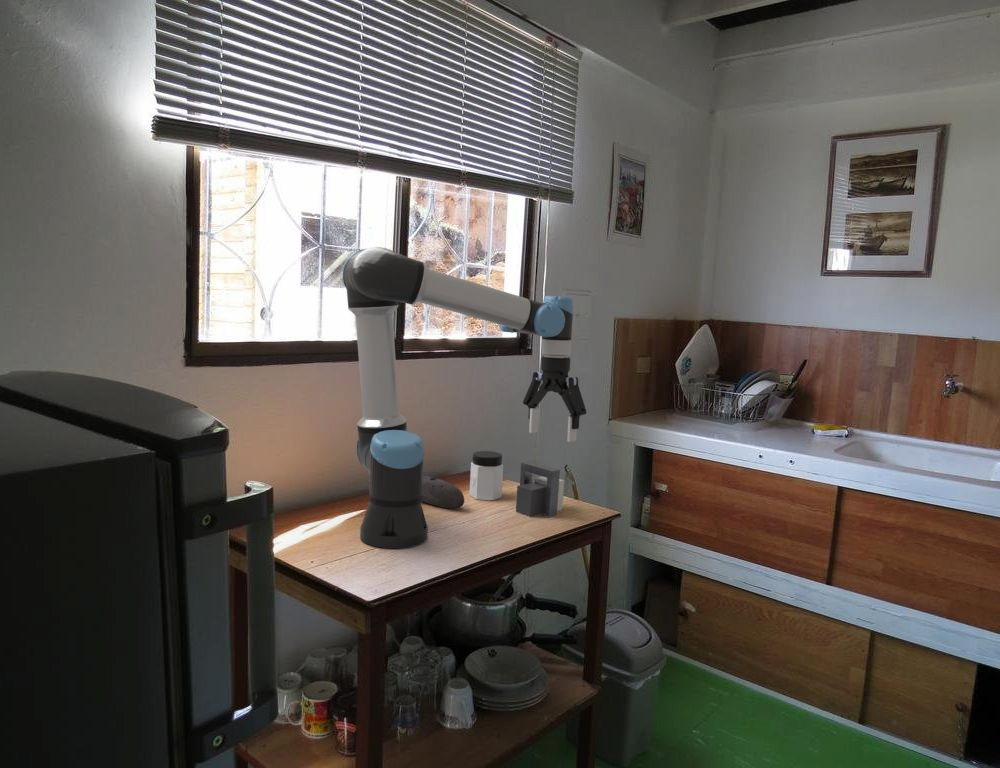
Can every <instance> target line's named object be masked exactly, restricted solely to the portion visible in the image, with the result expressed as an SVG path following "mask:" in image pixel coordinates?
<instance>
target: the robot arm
mask: <svg viewBox="0 0 1000 768" xmlns="http://www.w3.org/2000/svg"><path fill="white" fill-rule="evenodd" d="M342 282H343V285H344V287H345V289H346V298H347V299H346V300H347V307H348V308H347V309H348V310H349V311H350V312H351V313H352V314H353V315H354V317H355V326H356V327H355V329H356V338H357V339H356V341H357V355H358V365H359V366H358V367H359V368H358V369H359V377H360V379H359V380H360V389H361V390H360V392H361V393H360V394H361V405H362V417H361V418H360V419H359V421H357V423H356V425H357V436H358V438H357V442H356V447H355V449H356V450H355V452H356V457H357V459H358V462H359V463H360V465H361V466H362V467H363V469H365V470H366V471H367V473H368V475H369V496H368V498H369V499H368V501H369V502H368V506H367V507H366V510H365V514H364V517H363V520H362V523H361V524H360V528H359V538H360V540H361V541H362V542H363V543H365V544H367V545H368V546H369V545H370V546H373V547H378V548H382V549H383V548H384V549H404V548H411V547H417V546H418V545H421V544H423V543H424V542H426V541H427V539H428V536H429V535H428V533H429V527H428V524H427V520H426V516H425V513H424V509H423V506H422V500H421V497H422V477H423V476H424V475H423V473H424V457H425V449H424V447H425V446H424V440H423V439H422V437H420V436H419V435H418V434H416V433H414V432H409V431H408V426H407V419H406V418H405V417H404V416H403V415H402V414H401V413H400V405H399V389H398V375H397V360H396V347H395V345H396V343H395V331H394V317H393V314H394V312H395V311H396V310H397V309H398V308H399V303H404V304H408V305H411V306H413V305H416V304H417V303H421V304H425V305H429V306H432V307H436V308H439V309H443V310H446V311H450V312H453V313H457V314H461V315H464V316H468V317H471V318H474V319H475V318H476V319H477V320H478V319H479V320H482V321H486V322H490V323H494V324H496V325H498V328H499V329H500V330H501V331H502V332H503V333H511V334H514V333H521V334H527V335H534V336H539V337H542V338H541V354H542V355H543V356H542V357H541V359H540V361H541V363H540V369H541V370H542V371H534V372H533V373H532V379H531V383H530V384H529V386H528V389H527V391H526V394H525V396H524V398H523V400H522V404H523V405H524V406H525V405H526V406H527V407H528V415H527V416H528V420H529V428H528V429H529V430H528V433H529V434H533V433H538V432H539V420H540V407H539V404H540V403H541V402H542V400H543V399H544V398H545V397H546V395H547V393H548V392H552V393H558V395H559V396H560V397H561V399H562V401H563V402H564V404H565V406H566V408H567V410H568V412H569V414H570V415H569V416H568V418H567V439H566V441H567V442H568V443H570V442H576V441H577V438H578V437H577V436H578V434H577V433H578V430H579V428H580V418H581V416H583V415H584V416H585V415H587V409H586V405H585V403H584V400H583V396H582V393H581V390H580V387H579V378H578V377H577V376H571V377H569V372H570V371H571V357H569V356H571V354H572V350H571V349H572V333H573V332H572V331H573V330H572V329H573V317H574V306H573V305H574V303H573V299H572V297H570V296H562V295H561V296H559V295H545V297H543V302H539V301H536V300H534V299H533V300H532V299H528V297H527V298H526V297H523V296H520V295H517V294H514V293H513V294H512V293H510V292H507V291H503V290H500V289H497V288H493V287H490V286H486V285H483V284H479V283H477V282H474V281H473V282H472V281H470V280H467V279H463V278H460V277H457V276H453V275H450V274H447V273H444V272H440V271H436V270H434V269H430V268H428V267H427V266H426V264H425V262H423V261H420V260H417V259H414V258H410V257H408V256H406V255H404V254H400V253H398V252H396V251H394V250H392V249H389V248H386V247H382V246H381V247H380V246H373V247H369V248H361V249H359V250H357V251H355V252H353V253H352V254H351V255H350V256H349V257H348V259H346V261H345V263H344V266H343V268H342Z"/></svg>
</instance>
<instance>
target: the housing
mask: <svg viewBox="0 0 1000 768" xmlns="http://www.w3.org/2000/svg"><path fill="white" fill-rule="evenodd" d="M560 472H561V470H560V469H558V468H555V467H551V466H547V465H544V464H541V463H537V462H534V461H530V460H528V461H522V462H520V474H519V475H520V477H519V485H524V484H529V483H533V475H536V476H537V475H538V476H539V477H542V476H543V477H546V478H547V489H546V504H545V513H544V516H545V517H547V518H551V517H555V516H557V515H558V511H557V506H558V491H559V479H560V475H561V473H560Z"/></svg>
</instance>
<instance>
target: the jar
mask: <svg viewBox="0 0 1000 768" xmlns="http://www.w3.org/2000/svg"><path fill="white" fill-rule="evenodd" d="M469 477H470V479H469V480H470V481H469V496H470V495H471V496H470V497H472V498H474V499H475V500H479V501H491V500H492V501H495V500H497V499H500V498H502V496H503V493H502V492H503V480H504V479H503V478H504V464H503V455H502V453H501V452H497V451H489V450H481V451H475V452H473V453H472V461H471V462H470V475H469Z"/></svg>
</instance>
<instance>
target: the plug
mask: <svg viewBox="0 0 1000 768" xmlns="http://www.w3.org/2000/svg"><path fill="white" fill-rule="evenodd" d="M546 489H547V478H546V477H543V476H538V477H535V478H534V481H533V482H532V483H529V484H524V485H520V484H519V485H517V489H516V504H515V505H516V506H515V513H518V514H520V515H523V516H525V515H526V517H528V516H529V517H528V518H530V517H531V516H532V517H535V515H536V516H540V515H542V514H543V513H544V514H545V504H546ZM564 489H565V480H564V479H560V478H559V491H558V506H557V512H559V511H561V510H563V502H564V493H565V491H564ZM558 510H559V511H558ZM539 514H540V515H539ZM544 514H543V515H544ZM532 517H531V518H532Z"/></svg>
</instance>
